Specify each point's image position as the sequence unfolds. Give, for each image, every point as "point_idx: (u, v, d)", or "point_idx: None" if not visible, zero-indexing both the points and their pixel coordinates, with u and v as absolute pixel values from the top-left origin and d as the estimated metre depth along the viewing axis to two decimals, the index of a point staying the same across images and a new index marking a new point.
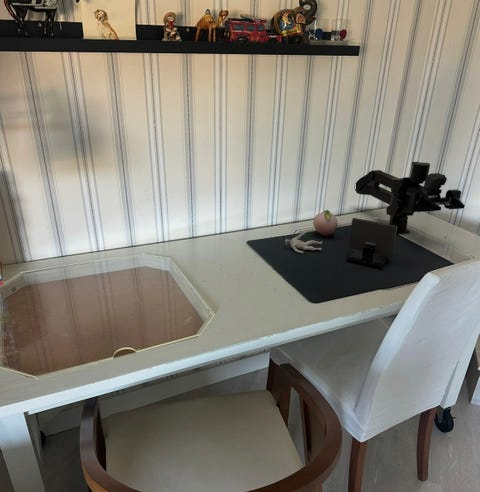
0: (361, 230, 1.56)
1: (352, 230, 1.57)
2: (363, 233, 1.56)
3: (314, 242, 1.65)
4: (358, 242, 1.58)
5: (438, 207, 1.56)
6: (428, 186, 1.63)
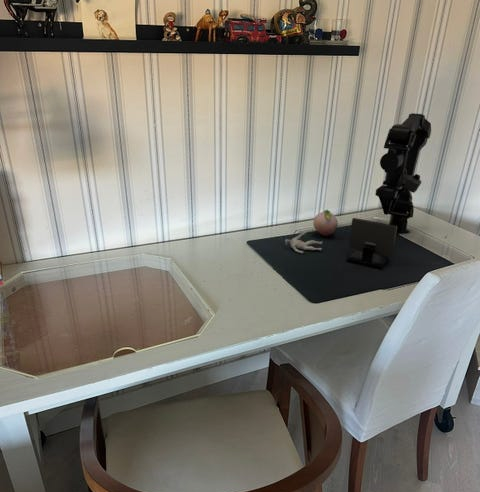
0: (361, 230, 1.56)
1: (352, 230, 1.57)
2: (363, 233, 1.56)
3: (314, 242, 1.65)
4: (358, 242, 1.58)
5: (386, 212, 1.63)
6: (405, 186, 1.58)
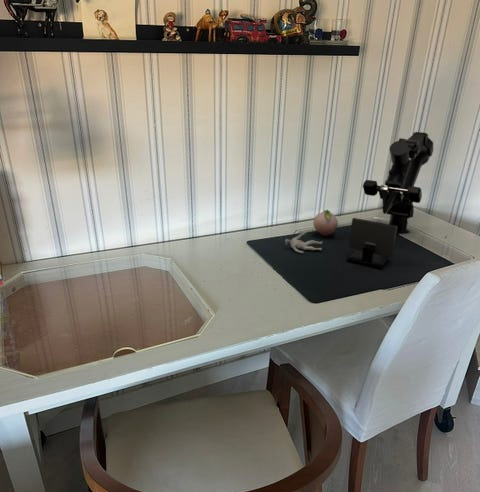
0: (361, 230, 1.56)
1: (352, 230, 1.57)
2: (363, 233, 1.56)
3: (314, 242, 1.65)
4: (358, 242, 1.58)
5: (386, 212, 1.61)
6: None
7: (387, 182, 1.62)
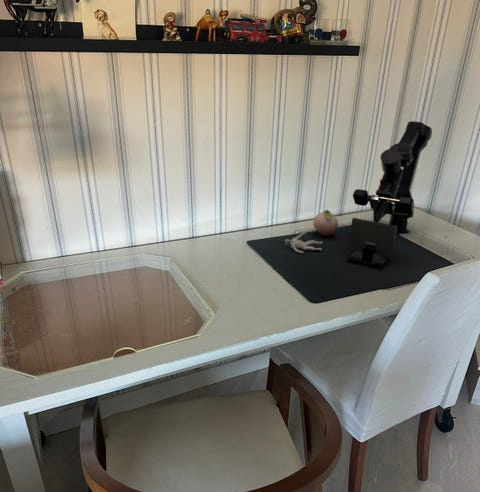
0: (361, 230, 1.56)
1: (352, 230, 1.57)
2: (363, 233, 1.56)
3: (314, 242, 1.65)
4: (358, 242, 1.58)
5: None
6: None
7: (378, 192, 1.55)
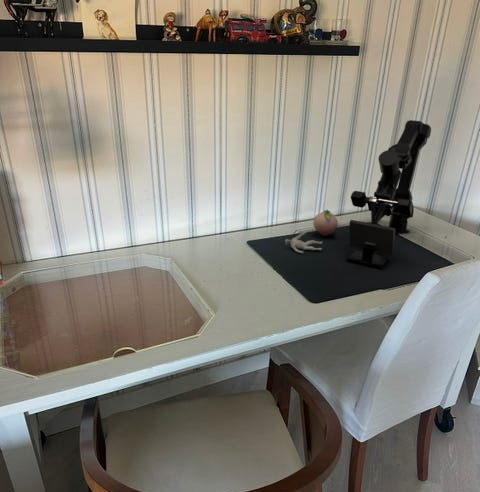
0: (360, 232, 1.55)
1: (351, 231, 1.56)
2: (362, 234, 1.55)
3: (314, 242, 1.65)
4: (358, 242, 1.58)
5: None
6: None
7: (376, 193, 1.53)
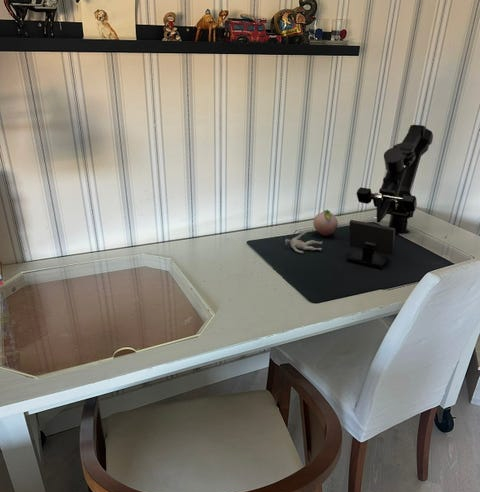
0: (360, 232, 1.55)
1: (351, 231, 1.56)
2: (362, 234, 1.55)
3: (314, 242, 1.65)
4: (358, 242, 1.58)
5: (380, 220, 1.57)
6: None
7: (381, 190, 1.58)
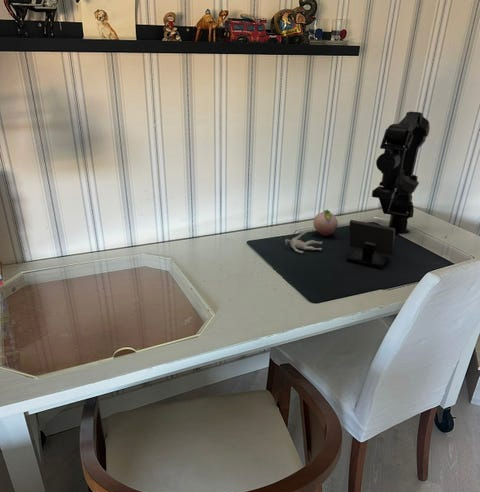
0: (360, 232, 1.55)
1: (351, 231, 1.56)
2: (362, 234, 1.55)
3: (314, 242, 1.65)
4: (358, 242, 1.58)
5: (386, 212, 1.62)
6: (402, 187, 1.55)
7: None
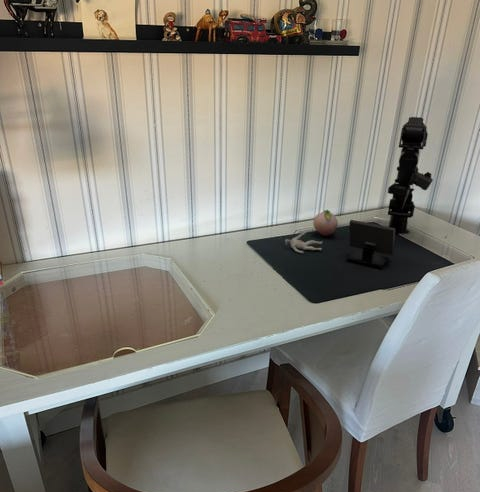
0: (360, 232, 1.55)
1: (351, 231, 1.56)
2: (362, 234, 1.55)
3: (314, 242, 1.65)
4: (358, 242, 1.58)
5: (400, 208, 1.69)
6: (417, 183, 1.61)
7: None
